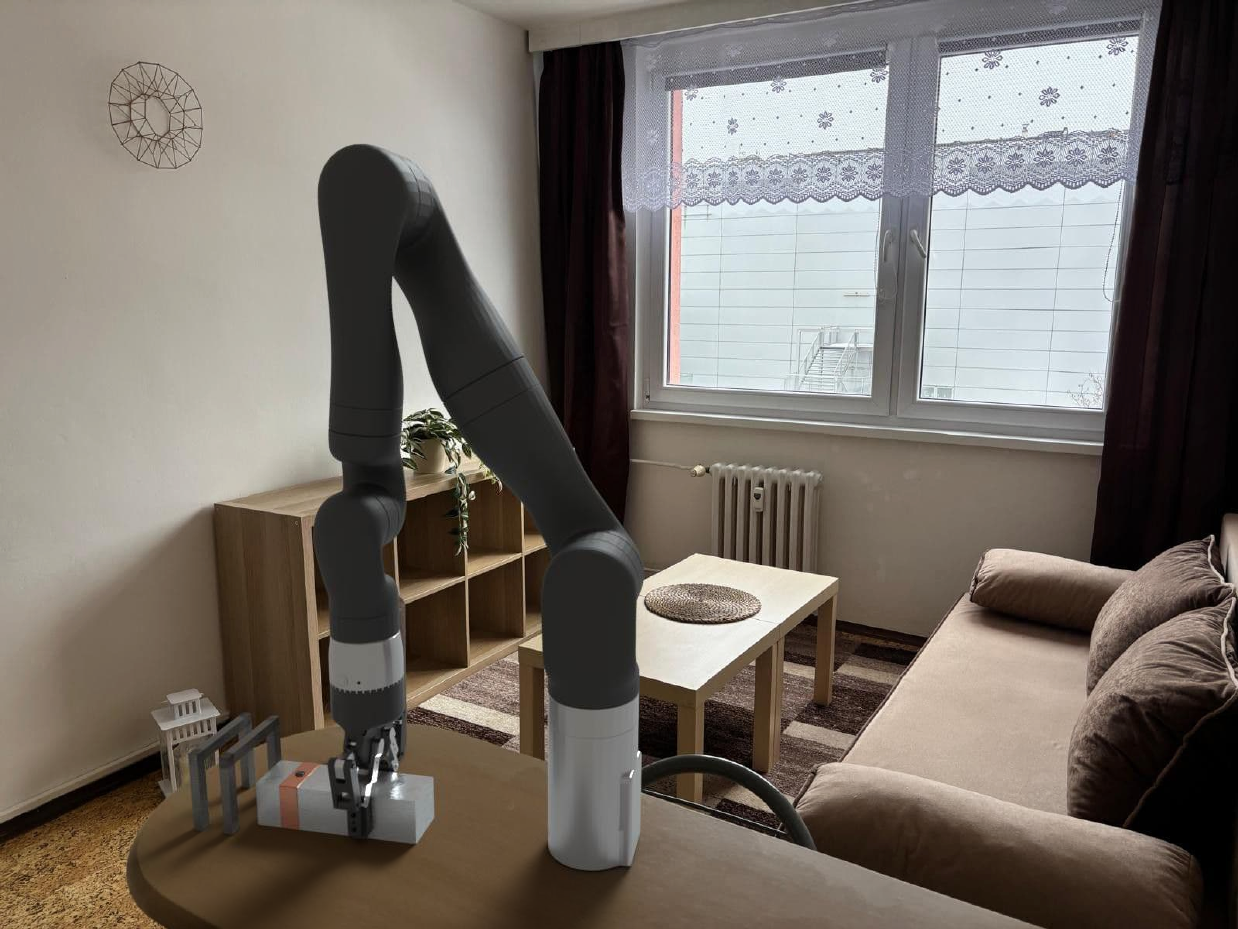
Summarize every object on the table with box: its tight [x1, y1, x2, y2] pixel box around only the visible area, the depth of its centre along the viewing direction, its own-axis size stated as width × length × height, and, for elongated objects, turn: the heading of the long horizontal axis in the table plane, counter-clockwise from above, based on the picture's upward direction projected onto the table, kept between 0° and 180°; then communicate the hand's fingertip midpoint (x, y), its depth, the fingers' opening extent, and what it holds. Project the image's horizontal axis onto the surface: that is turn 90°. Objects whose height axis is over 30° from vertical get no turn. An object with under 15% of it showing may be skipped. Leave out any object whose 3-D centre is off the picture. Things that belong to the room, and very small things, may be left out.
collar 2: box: [218, 715, 283, 836], centre depth 100 cm, size 1×10×9 cm, turn 169°
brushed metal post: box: [255, 759, 435, 845], centre depth 99 cm, size 18×5×5 cm, turn 80°
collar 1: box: [187, 712, 257, 832], centre depth 101 cm, size 1×10×9 cm, turn 169°
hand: (372, 819), depth 98 cm, fingers open, 5 cm apart
